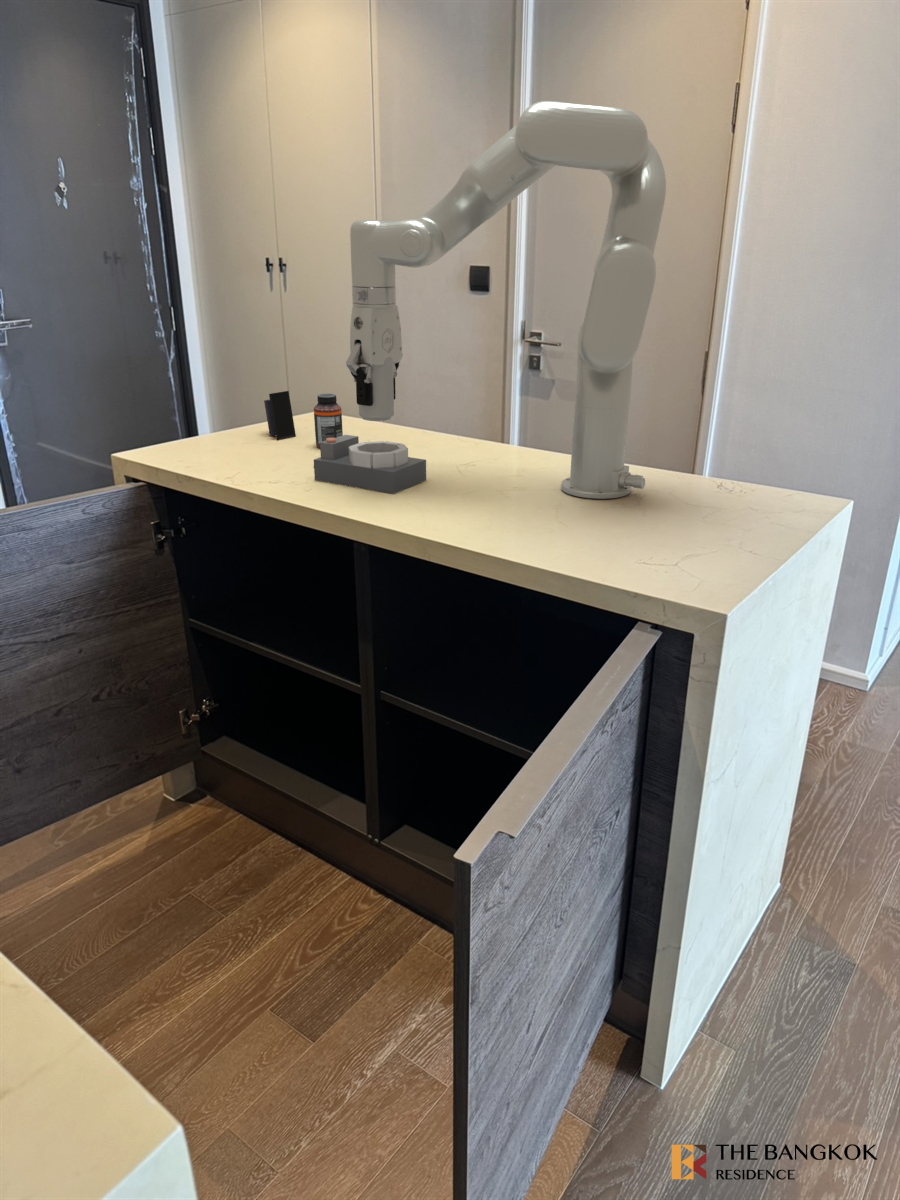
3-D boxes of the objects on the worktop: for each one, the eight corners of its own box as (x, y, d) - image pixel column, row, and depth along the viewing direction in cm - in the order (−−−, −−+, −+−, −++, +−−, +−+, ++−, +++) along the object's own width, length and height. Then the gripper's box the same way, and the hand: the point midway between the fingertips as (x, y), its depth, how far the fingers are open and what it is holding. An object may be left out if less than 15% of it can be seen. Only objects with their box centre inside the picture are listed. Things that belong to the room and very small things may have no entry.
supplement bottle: (320, 443, 192) (317, 392, 187) (346, 444, 191) (344, 392, 187) (312, 449, 186) (309, 396, 182) (339, 450, 186) (336, 397, 181)
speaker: (301, 436, 197) (294, 390, 194) (277, 440, 195) (270, 393, 191) (290, 433, 204) (283, 389, 200) (267, 437, 201) (259, 392, 198)
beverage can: (392, 422, 155) (391, 353, 150) (356, 421, 155) (354, 352, 150) (395, 415, 161) (394, 348, 156) (361, 415, 161) (359, 348, 156)
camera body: (426, 480, 163) (425, 440, 160) (393, 494, 155) (392, 452, 152) (350, 468, 172) (348, 429, 169) (314, 480, 163) (312, 440, 160)
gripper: (361, 301, 141) (364, 411, 148) (419, 296, 155) (419, 397, 162) (325, 299, 144) (330, 407, 151) (384, 294, 158) (386, 393, 165)
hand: (376, 401), depth 156 cm, fingers closed on beverage can, 6 cm apart
